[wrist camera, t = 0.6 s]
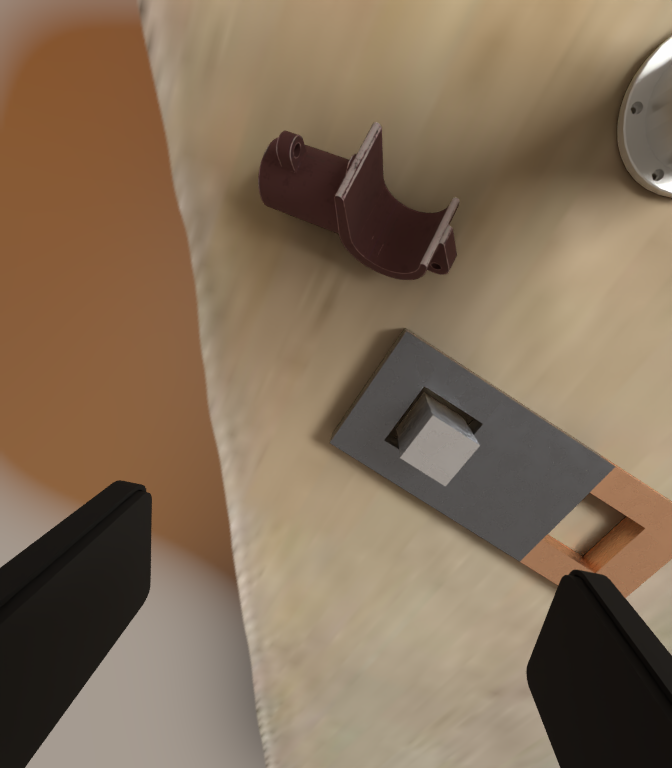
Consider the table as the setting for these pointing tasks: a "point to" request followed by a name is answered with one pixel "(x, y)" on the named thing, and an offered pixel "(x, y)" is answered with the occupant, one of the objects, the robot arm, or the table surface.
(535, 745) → the table surface
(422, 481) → the grey copper flat plate
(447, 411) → the grey rectangular block
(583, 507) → the table surface
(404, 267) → the bracket
